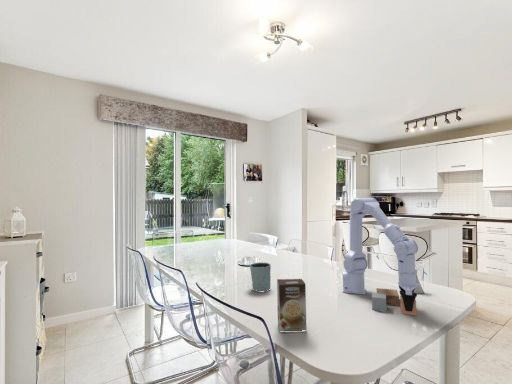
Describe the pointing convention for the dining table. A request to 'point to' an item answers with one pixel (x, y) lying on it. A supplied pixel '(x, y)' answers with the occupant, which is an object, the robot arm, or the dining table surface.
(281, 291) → the coffee box
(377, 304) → the slate grey block
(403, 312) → the terracotta block
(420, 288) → the flask
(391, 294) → the walnut base block
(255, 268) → the grey green cup
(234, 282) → the dining table surface
